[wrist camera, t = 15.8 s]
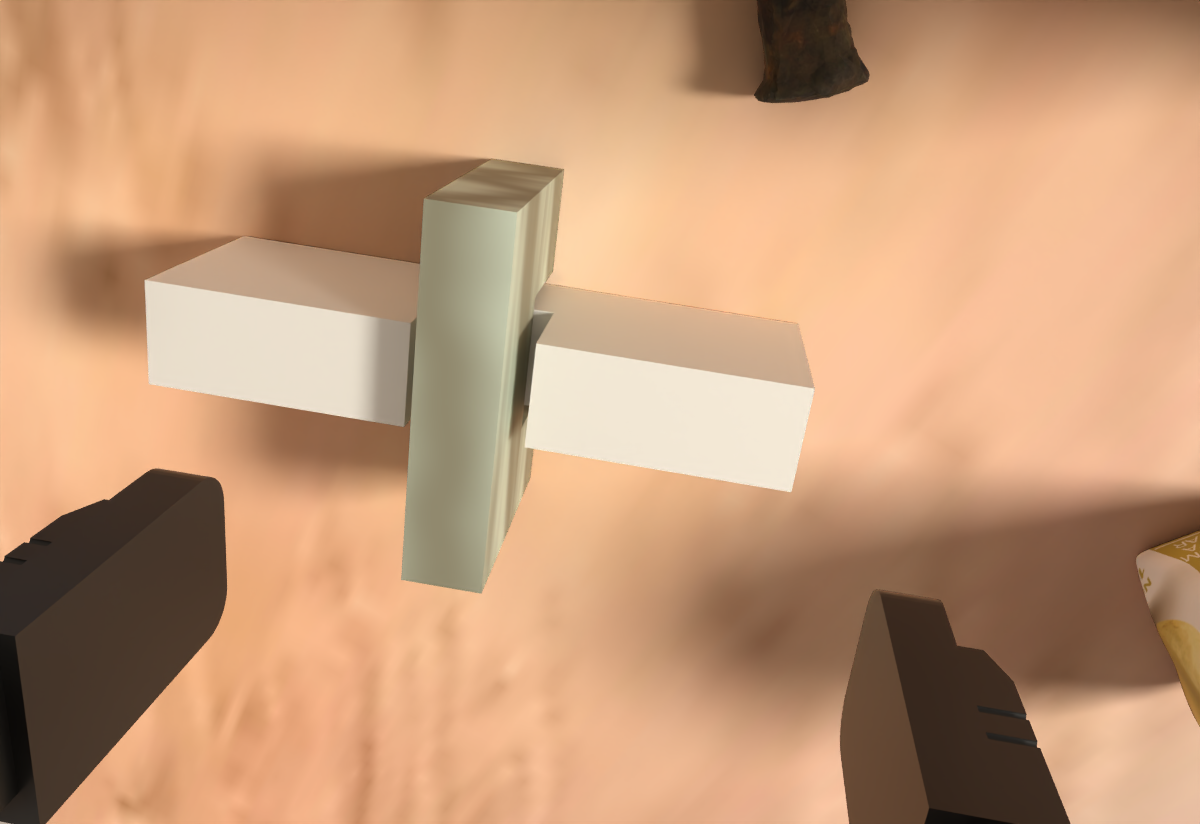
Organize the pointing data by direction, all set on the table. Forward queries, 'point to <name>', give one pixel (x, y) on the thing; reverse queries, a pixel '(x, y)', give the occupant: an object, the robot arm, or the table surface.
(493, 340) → the slotted plate
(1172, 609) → the juice carton
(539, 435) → the slotted beam
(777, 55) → the hand tool
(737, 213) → the table surface
